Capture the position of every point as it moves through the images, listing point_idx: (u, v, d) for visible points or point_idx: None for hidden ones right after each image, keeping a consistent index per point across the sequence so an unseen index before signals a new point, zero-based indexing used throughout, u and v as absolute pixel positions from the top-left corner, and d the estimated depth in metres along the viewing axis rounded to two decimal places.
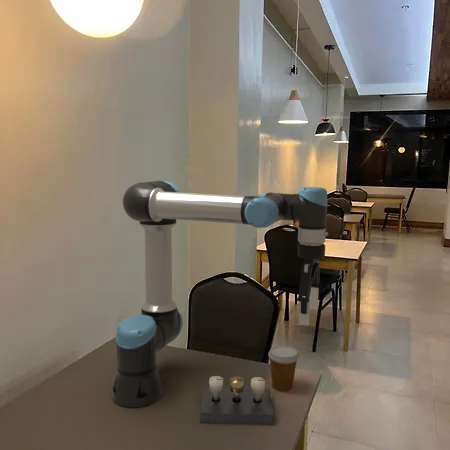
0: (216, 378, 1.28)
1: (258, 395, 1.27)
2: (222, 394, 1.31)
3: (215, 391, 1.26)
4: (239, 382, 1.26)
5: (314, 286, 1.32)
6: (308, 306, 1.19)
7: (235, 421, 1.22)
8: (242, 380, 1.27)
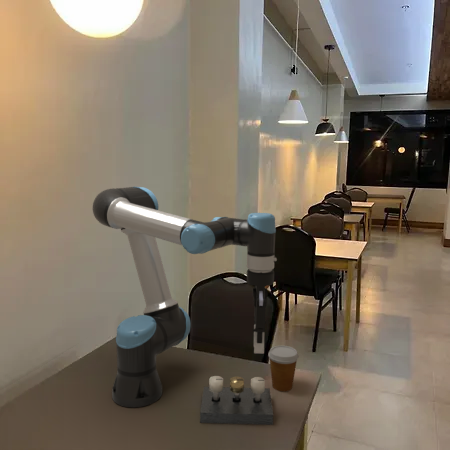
0: (216, 378, 1.28)
1: (258, 395, 1.27)
2: (222, 394, 1.31)
3: (215, 391, 1.26)
4: (239, 382, 1.26)
5: None
6: (263, 335, 1.23)
7: (235, 421, 1.22)
8: (242, 380, 1.27)
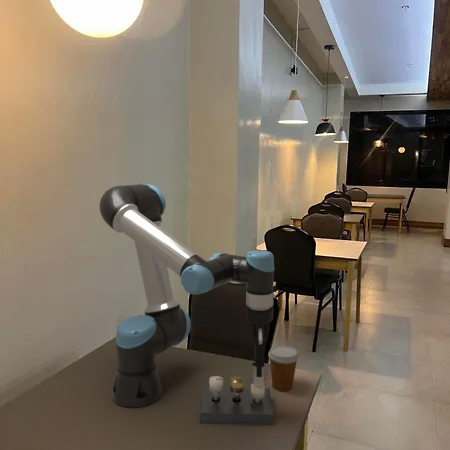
0: (216, 378, 1.28)
1: (258, 401, 1.28)
2: (222, 394, 1.31)
3: (215, 391, 1.26)
4: (239, 382, 1.26)
5: None
6: (262, 369, 1.26)
7: (235, 421, 1.22)
8: (242, 380, 1.27)
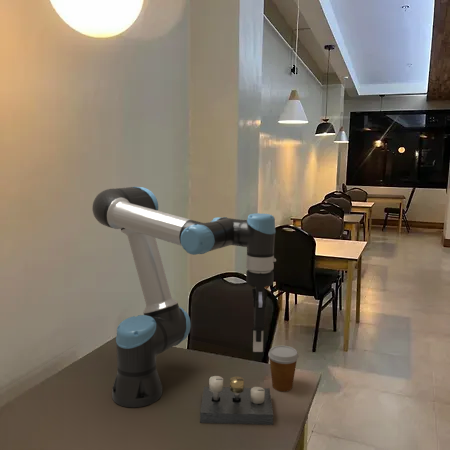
0: (216, 378, 1.28)
1: None
2: (222, 394, 1.31)
3: (215, 391, 1.26)
4: (239, 382, 1.26)
5: None
6: (262, 334, 1.25)
7: (235, 421, 1.22)
8: (242, 380, 1.27)
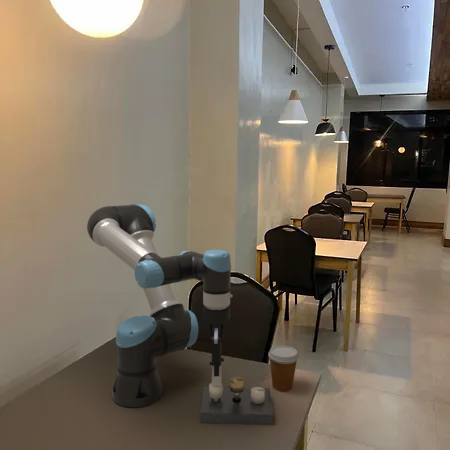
0: None
1: None
2: None
3: (215, 397, 1.27)
4: (239, 382, 1.26)
5: None
6: (220, 368, 1.26)
7: (235, 421, 1.22)
8: (242, 380, 1.27)
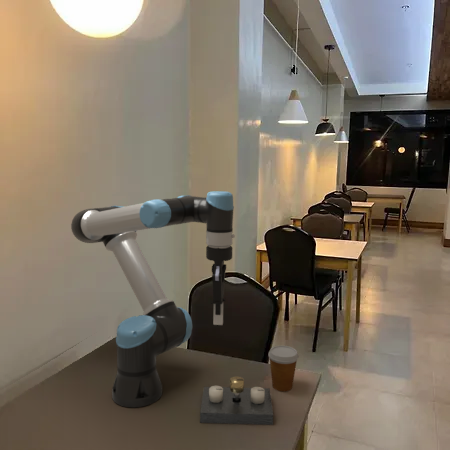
0: (216, 388, 1.28)
1: None
2: None
3: (215, 401, 1.27)
4: (239, 382, 1.26)
5: None
6: (221, 307, 1.30)
7: (235, 421, 1.22)
8: (242, 380, 1.27)
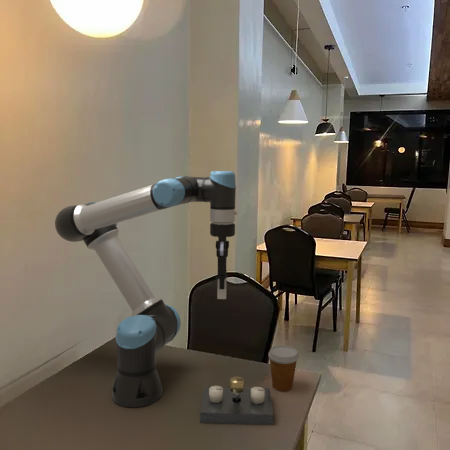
0: (216, 388, 1.28)
1: None
2: None
3: (215, 401, 1.27)
4: (239, 382, 1.26)
5: None
6: (225, 282, 1.36)
7: (235, 421, 1.22)
8: (242, 380, 1.27)
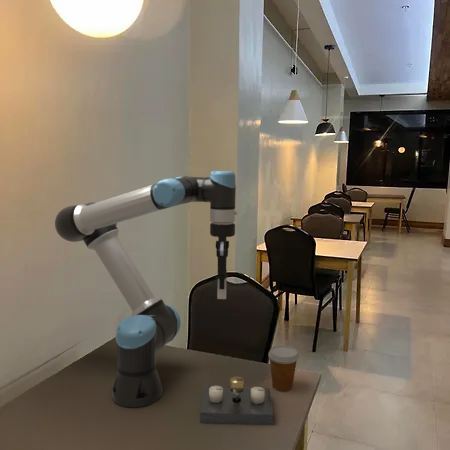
0: (216, 388, 1.28)
1: None
2: None
3: (215, 401, 1.27)
4: (239, 382, 1.26)
5: None
6: (225, 282, 1.36)
7: (235, 421, 1.22)
8: (242, 380, 1.27)
